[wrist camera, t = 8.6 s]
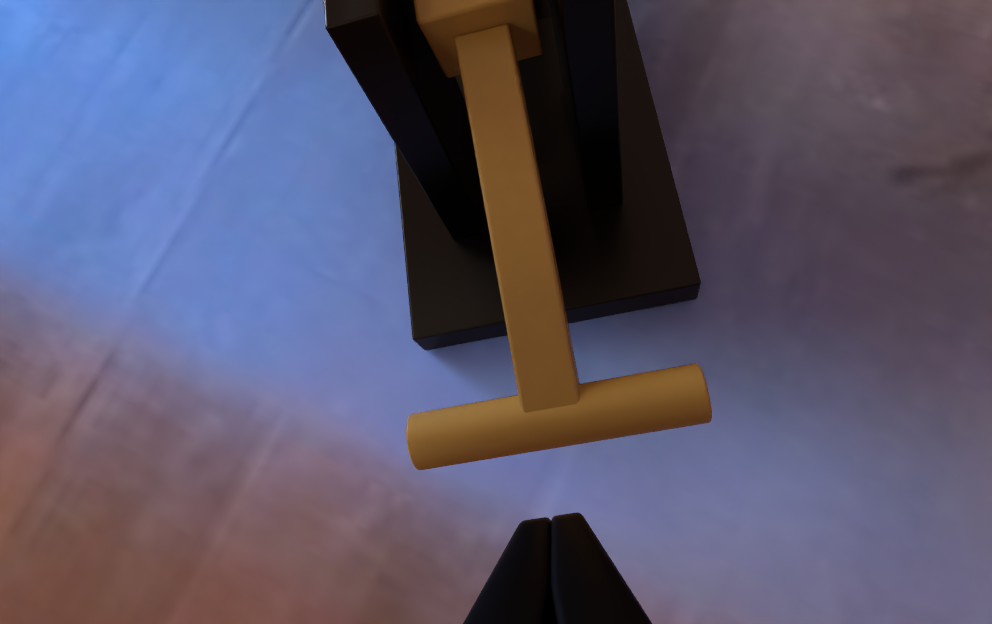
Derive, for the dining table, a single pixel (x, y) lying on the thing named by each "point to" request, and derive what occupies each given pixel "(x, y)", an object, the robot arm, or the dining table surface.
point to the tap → (560, 157)
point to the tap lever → (528, 270)
